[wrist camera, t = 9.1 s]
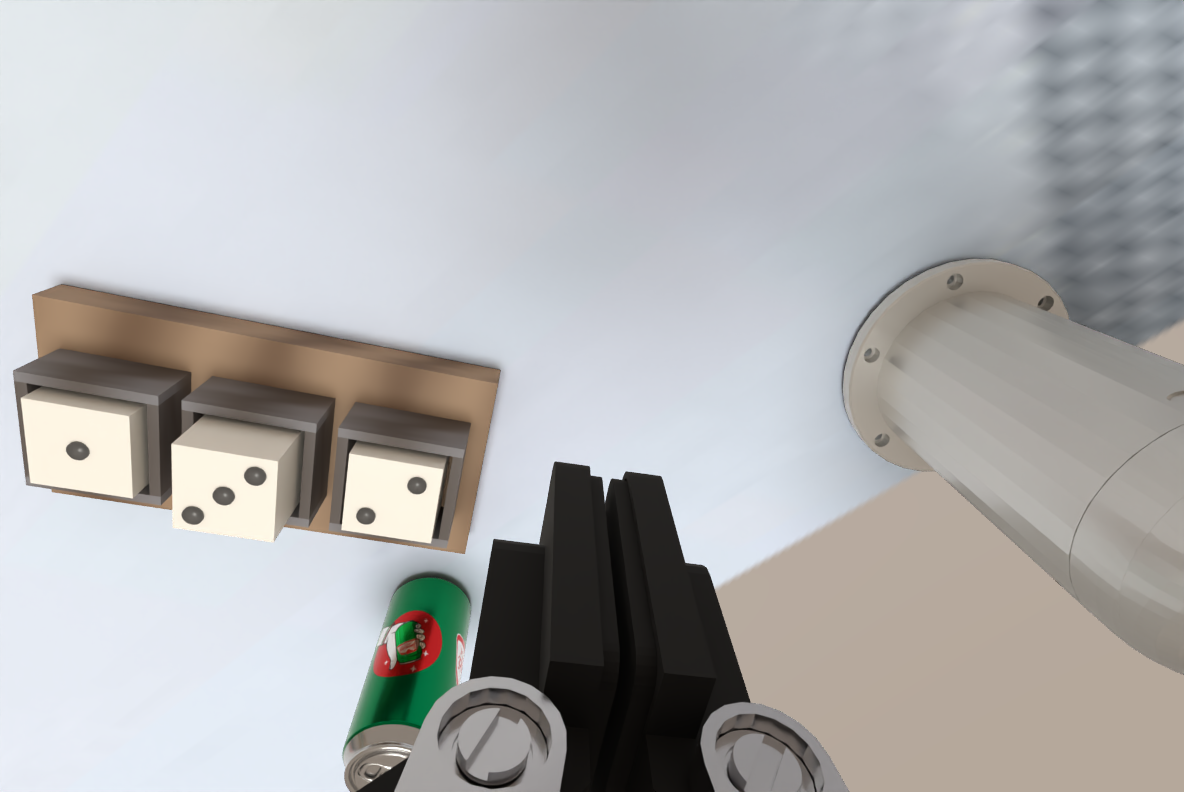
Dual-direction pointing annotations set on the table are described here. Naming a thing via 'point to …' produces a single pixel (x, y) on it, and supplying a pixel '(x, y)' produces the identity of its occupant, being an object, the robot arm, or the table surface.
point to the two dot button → (393, 491)
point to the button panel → (265, 396)
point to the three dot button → (236, 477)
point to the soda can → (406, 676)
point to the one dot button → (86, 441)
